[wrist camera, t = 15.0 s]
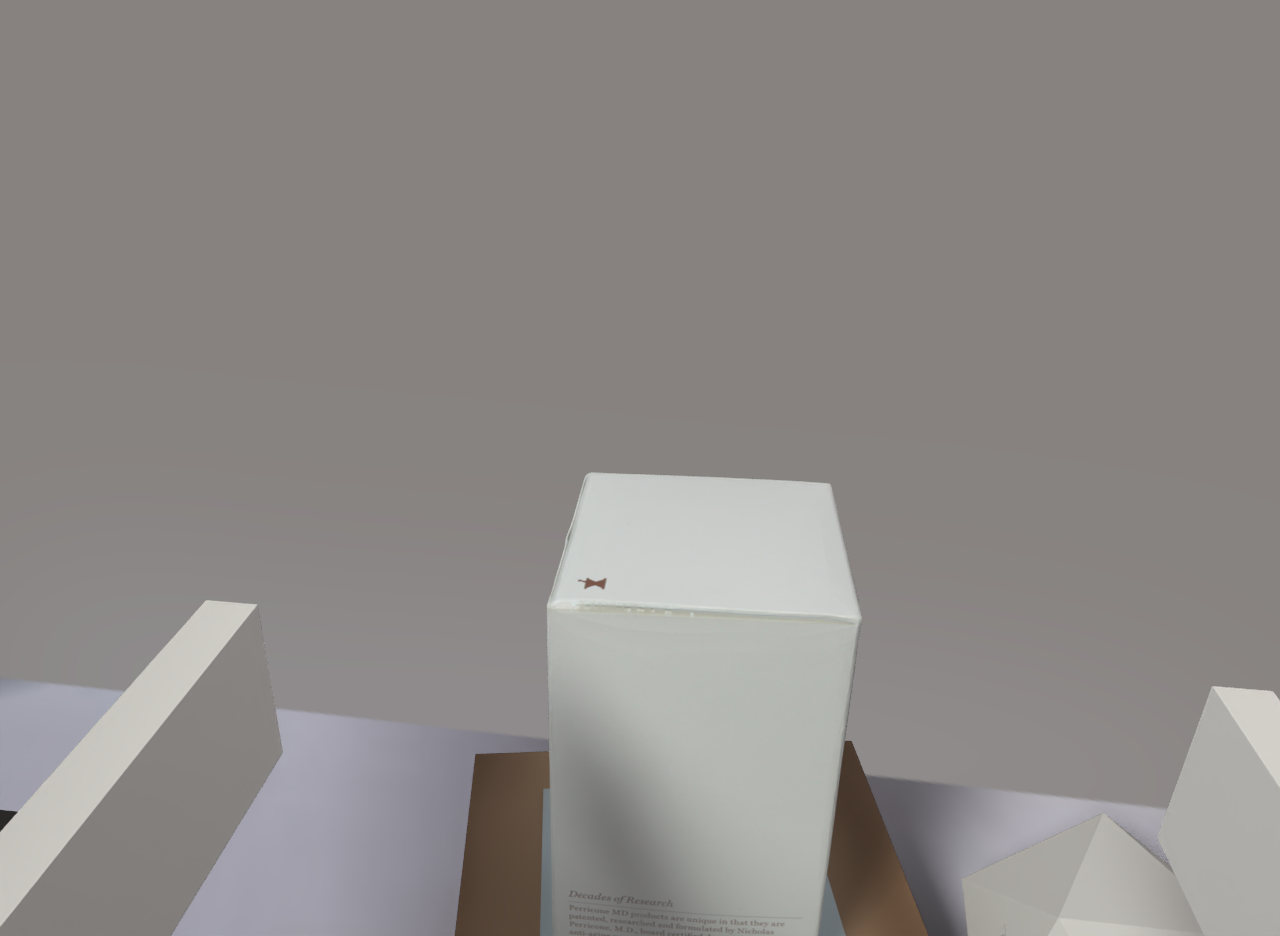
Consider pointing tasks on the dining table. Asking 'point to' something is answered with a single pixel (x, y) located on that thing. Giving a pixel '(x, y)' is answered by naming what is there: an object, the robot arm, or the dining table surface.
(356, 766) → the dining table surface
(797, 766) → the supplement box
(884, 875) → the walnut plinth
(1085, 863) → the die
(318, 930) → the dining table surface
